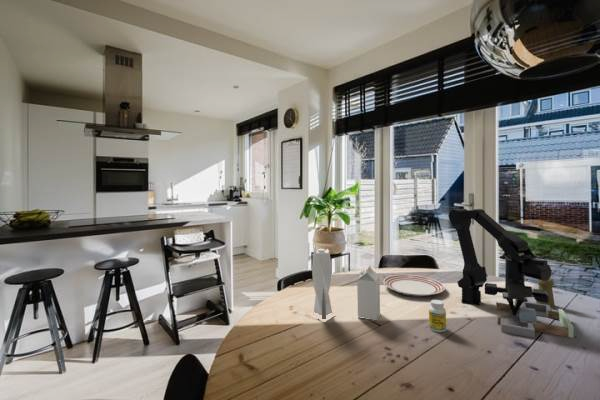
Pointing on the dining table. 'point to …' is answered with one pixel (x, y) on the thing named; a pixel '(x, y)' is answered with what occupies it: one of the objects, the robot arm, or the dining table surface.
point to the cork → (548, 288)
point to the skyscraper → (322, 281)
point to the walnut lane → (538, 326)
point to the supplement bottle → (437, 316)
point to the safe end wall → (566, 322)
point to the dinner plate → (414, 285)
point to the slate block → (527, 315)
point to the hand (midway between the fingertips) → (514, 315)
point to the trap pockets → (528, 332)
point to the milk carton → (368, 294)
